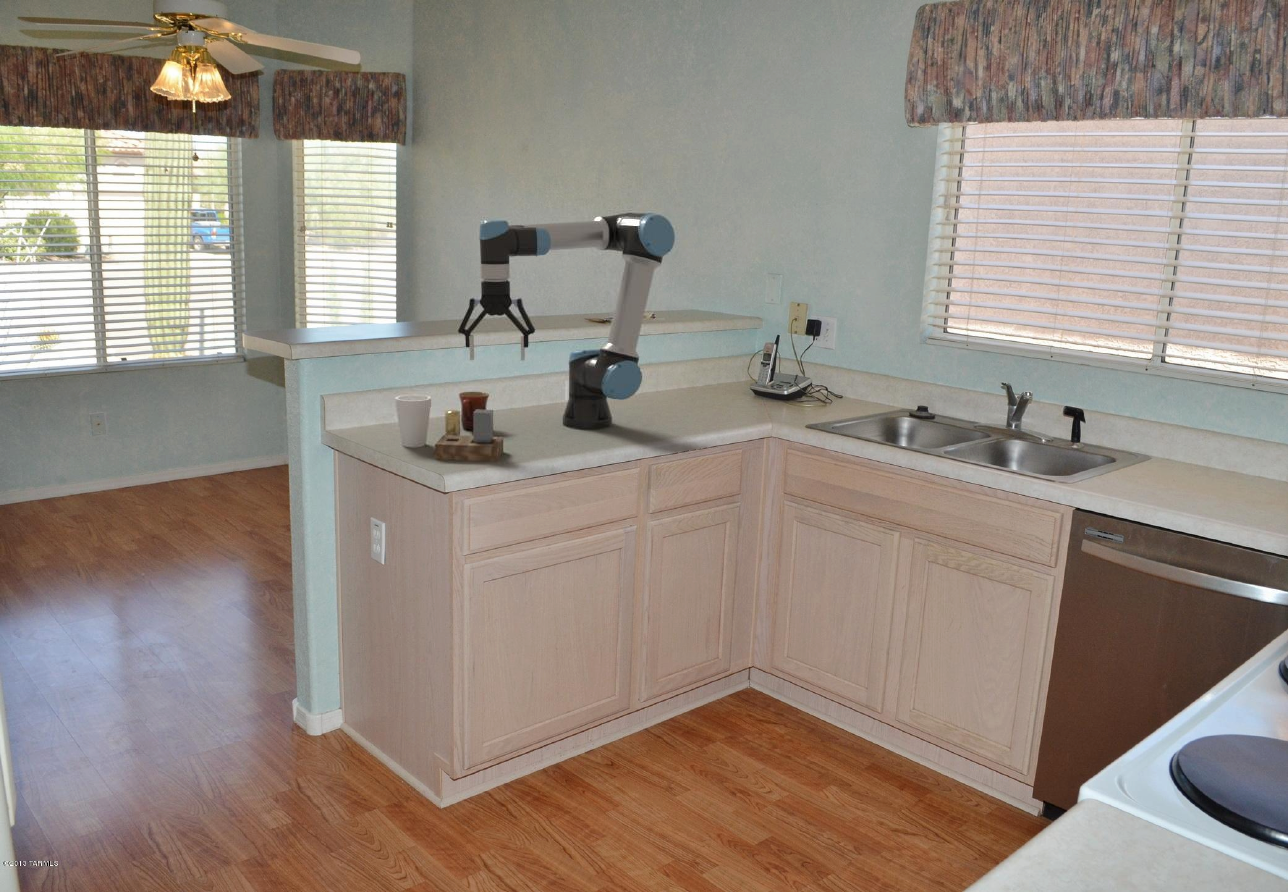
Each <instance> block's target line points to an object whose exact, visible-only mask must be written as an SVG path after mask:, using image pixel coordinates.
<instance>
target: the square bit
mask: <svg viewBox="0 0 1288 892" xmlns="http://www.w3.org/2000/svg"><path fill="white" fill-rule="evenodd" d="M472 433H473V434H472V436H473V440H474V443H477V444H493V437H494V409H486V410H480V409H476V410H475V411H474V413H473V430H472Z"/></svg>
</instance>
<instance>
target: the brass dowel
mask: <svg viewBox="0 0 1288 892" xmlns="http://www.w3.org/2000/svg"><path fill="white" fill-rule="evenodd" d="M444 423H445V425H444V426H445V427H444V428H445V431H444V432H445V434H444V435H455V436H461V411H460V410H457V409H456V410H455V409H448V410H445V412H444Z"/></svg>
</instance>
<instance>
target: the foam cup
mask: <svg viewBox="0 0 1288 892" xmlns="http://www.w3.org/2000/svg"><path fill="white" fill-rule="evenodd" d="M394 399H395V401H394V402H395V406H394V407H395V409H396V413H397V423H398V427H399V435H400V439H401V441H400V442H401V446H403V447H405V448H421V447H425V446H426V445H427V440H428V439H427V438H428V429H429V422H430V412H431V407H432V397H431V396H429V395H425V394H403V395H398V396H396V397H395V398H394Z"/></svg>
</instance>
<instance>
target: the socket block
mask: <svg viewBox="0 0 1288 892" xmlns="http://www.w3.org/2000/svg"><path fill="white" fill-rule="evenodd" d="M503 453H504V437H503V436H493V444H477V443H474V440H473V435H460V436H455V435H445V434H443V435H442V436H441V438H439V439H438V441H436V442H435V443H434V459H435V460H440V461H441V460H442V461H446V460H447V461H448V460H449V461H467V462H468V461H471V462H498V461H499V460H500V458H501V457H502V454H503Z"/></svg>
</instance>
